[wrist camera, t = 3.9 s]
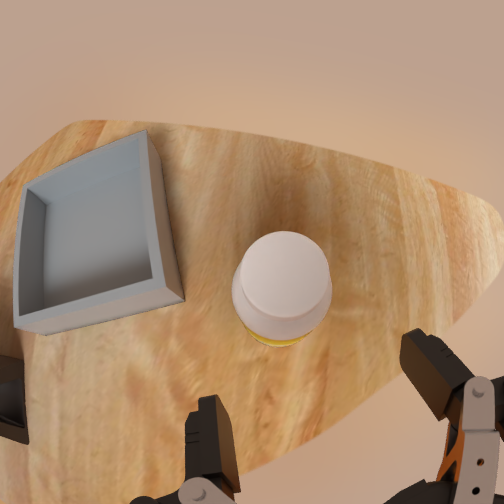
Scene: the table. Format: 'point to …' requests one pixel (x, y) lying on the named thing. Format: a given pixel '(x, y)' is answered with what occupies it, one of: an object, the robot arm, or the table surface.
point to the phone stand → (13, 400)
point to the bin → (95, 241)
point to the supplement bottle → (282, 288)
